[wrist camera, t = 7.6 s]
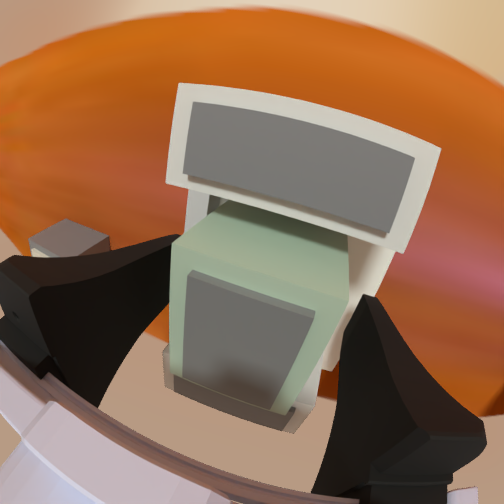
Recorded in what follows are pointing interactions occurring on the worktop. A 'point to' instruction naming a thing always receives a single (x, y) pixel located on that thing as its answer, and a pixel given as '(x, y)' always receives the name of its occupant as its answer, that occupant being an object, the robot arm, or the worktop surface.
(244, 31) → the worktop surface
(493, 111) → the worktop surface
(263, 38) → the worktop surface
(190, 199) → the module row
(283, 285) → the green module
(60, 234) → the block
